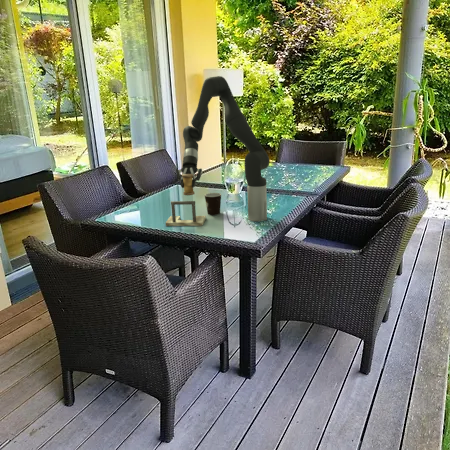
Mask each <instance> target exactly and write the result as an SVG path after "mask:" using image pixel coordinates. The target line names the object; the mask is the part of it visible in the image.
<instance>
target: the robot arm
mask: <svg viewBox="0 0 450 450" xmlns="http://www.w3.org/2000/svg"><path fill="white" fill-rule="evenodd" d="M216 97H219V98H220V100H221V101H222V103H223V106H224V120H225V121H224V122H225V125H226V126H227V128H228V130H229V131H230V133H231V135H233V137H235V139H236V140H238V141H239V142H240V143H241V144H243V146H245V147H246V149H247V150H248V152H249V153H247V154H246V155H245V157H244V174H245V175H244V177H245V181H246V183H247V185H246V187H247V192H246V193H247V218H248V221H251V222H263V221H267V219H268V201H267V200H268V198H267V179H266V177H263V176H262V170H266V169H267V168H269V166H270V157H269V154H268V153H267V151H266V150H265V148H264V147H263V146H262V144H261V143H260V141H259V140H258V138H257V137H256V135H255V133H254V132H253V129H252V128H251V127H250V124H249V122H248V121H247V119H246V116H245V115H244V114H243V112H242V111H241V108H240V107H239V105H238V103H237V101H236V99H235V97H234V95H233V93H232V90H231V88H230V85H229V83H228V81H227V80H226V79H225V77H223V76H222V75H221V76H220V75H217V76H209V77H207V78H205V80H204V81H203V84H202V87H201V90H200V95H199V99H198V103H197V107H196V110H195V112H194V115H193V117H192V118H191V121H190V123H191V126H190V125H186V126H185V127H183V130H182V137H183V140H184V150H183V156H182V166H181V168H180V169H178V168H176V169H175V172H176V176H177V181H179V182H180V187H181V188H182V189H184V182H183V177H182V175H183V174H193V177H192V188H193V189H195V187H196V182H197V181H198V182H199V181H200V179H201V177H202V175H203V169H202V168H198V160H199V143H198V142H201V141H202V140H203V133H204V128H205V125H206V124H207V123H206V122H207V121H208V118H209V114H210V110H209V109H210V108H209V103H210V102H211V100H212V98H216ZM181 173H182V174H181ZM196 173H197V175H196ZM195 175H196V176H195Z"/></svg>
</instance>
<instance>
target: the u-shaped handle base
mask: <svg viewBox="0 0 450 450" xmlns="http://www.w3.org/2000/svg"><path fill="white" fill-rule="evenodd" d="M176 205H177V206H179V205H180V206H181V205H183V206H185V205H186V206H187V205H191V213H192V214H191V215H192V219H181V215H176ZM170 208H171V215H170V216H169V217H168V218H167V220H166V221H165V226H166V227H177V226H178V227H182V226H184V227H185V226H192V227H194V226H195V227H196V226H197V227H199V226H201V227H203V225H204V223H205V221H206V219H207V216H206V215H197V213H196V209H197V208H196V201H195V200H185V201H184V200H183V201H182V200H179V201H178V200H177V201H176V200H174V201H171V200H170Z"/></svg>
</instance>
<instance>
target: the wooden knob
mask: <svg viewBox="0 0 450 450" xmlns="http://www.w3.org/2000/svg"><path fill="white" fill-rule="evenodd" d="M182 174H183V173H182ZM182 174H181V177H183V182H184V188H183V192H182V193H183V194H182V195H183V196H193V195H195V191H194V188H192V180H193V178H192V177H193V174H183V175H182Z"/></svg>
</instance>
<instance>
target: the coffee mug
mask: <svg viewBox="0 0 450 450" xmlns="http://www.w3.org/2000/svg"><path fill="white" fill-rule="evenodd" d="M204 199H205V206H206V211H207V214H208V215H209V216H217V215H220V214H221V206H222V205H221V203H222V194H221V193H220V192H210V193H209V192H208V193H205V194H204Z"/></svg>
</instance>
